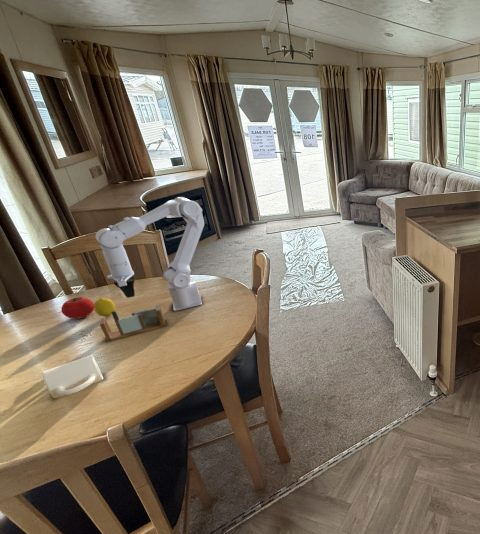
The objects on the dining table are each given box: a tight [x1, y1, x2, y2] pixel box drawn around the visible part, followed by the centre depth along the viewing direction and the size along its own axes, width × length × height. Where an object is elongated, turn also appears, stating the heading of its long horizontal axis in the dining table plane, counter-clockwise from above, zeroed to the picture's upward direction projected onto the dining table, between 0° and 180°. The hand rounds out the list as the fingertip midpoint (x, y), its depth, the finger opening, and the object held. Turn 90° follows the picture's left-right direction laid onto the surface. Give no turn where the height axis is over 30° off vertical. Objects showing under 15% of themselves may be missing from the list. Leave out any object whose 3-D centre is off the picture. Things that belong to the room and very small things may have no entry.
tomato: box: [60, 296, 95, 319], centre depth 128 cm, size 9×9×8 cm
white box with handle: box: [41, 354, 104, 399], centre depth 94 cm, size 12×10×8 cm
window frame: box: [99, 305, 166, 342], centre depth 121 cm, size 16×4×7 cm, turn 128°
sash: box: [111, 310, 146, 335], centre depth 119 cm, size 7×1×9 cm, turn 128°
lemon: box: [94, 297, 116, 318], centre depth 128 cm, size 6×6×8 cm
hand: (130, 296), depth 124 cm, fingers closed
